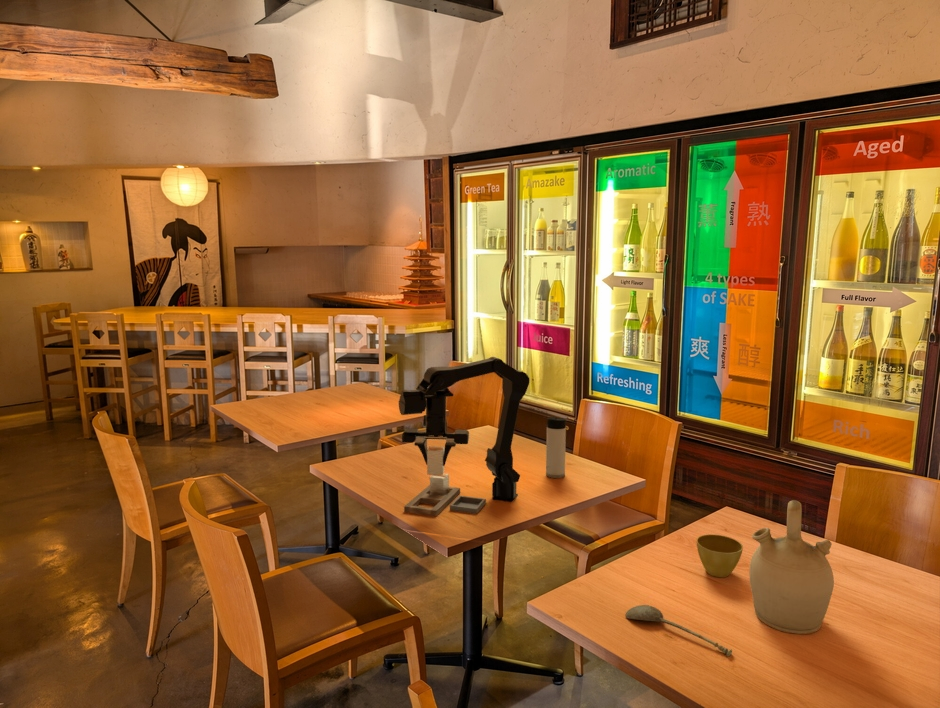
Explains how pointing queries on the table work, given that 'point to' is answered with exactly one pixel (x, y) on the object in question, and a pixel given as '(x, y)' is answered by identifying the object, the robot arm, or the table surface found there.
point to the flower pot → (719, 554)
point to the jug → (791, 578)
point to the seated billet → (439, 484)
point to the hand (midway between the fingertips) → (435, 465)
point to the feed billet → (435, 461)
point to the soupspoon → (655, 615)
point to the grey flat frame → (431, 502)
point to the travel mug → (555, 447)
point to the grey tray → (468, 504)
